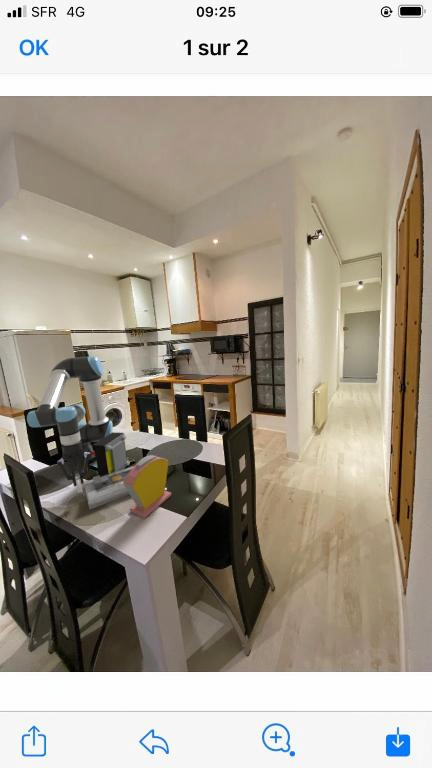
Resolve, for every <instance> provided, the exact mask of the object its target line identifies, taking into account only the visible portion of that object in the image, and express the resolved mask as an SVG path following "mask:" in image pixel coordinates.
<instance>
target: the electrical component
mask: <svg viewBox="0 0 432 768" xmlns="http://www.w3.org/2000/svg"><path fill="white" fill-rule="evenodd" d="M126 439H127V435H125V433H124V432H113V431H112V433H111V434H109V435H107V436H106V437H104V438H103V439H101V440H100V441H95V442H94V443H93V444H92V445H91V448H92V450H93V452H92V454H93V455H94V457H95V462H96V467H97V474H98V475H97V476H99V475H100V477H101V476H105V475H108V474H111V473H114V472H117V471H120V470H124V469H126V468H127V466H130V461H129V459H128V457H127V456H128V455H127V449H126V443H125V440H126Z"/></svg>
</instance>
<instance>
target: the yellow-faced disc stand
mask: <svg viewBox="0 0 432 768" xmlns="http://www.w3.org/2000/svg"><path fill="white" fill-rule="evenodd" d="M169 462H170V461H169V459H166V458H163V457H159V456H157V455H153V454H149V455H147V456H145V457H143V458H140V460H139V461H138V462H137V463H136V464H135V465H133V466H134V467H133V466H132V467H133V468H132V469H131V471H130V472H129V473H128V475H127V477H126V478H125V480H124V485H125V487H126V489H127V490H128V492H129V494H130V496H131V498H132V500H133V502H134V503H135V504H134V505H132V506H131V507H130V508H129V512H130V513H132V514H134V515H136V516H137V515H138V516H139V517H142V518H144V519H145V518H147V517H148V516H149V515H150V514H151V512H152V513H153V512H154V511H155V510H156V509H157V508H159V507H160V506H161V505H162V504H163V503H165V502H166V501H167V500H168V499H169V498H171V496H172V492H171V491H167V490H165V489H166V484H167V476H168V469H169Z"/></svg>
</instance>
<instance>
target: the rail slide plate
mask: <svg viewBox="0 0 432 768" xmlns="http://www.w3.org/2000/svg"><path fill="white" fill-rule="evenodd" d="M134 466H135V465H133V466H130V467H126V468H124V469H123V470H120V471H117V472H114V473H111V474H108V475H105V476H107V477H108V479H109V480H112V477H114V476H118V475H120V476H121V477H122V476H125V475H128V473H129V472H130V471H131V469H132V468H133V467H134ZM105 476H101V478H102V477H105ZM84 484H85V486H84V489H85V495H86V499H87V503H88V508H89V510H92V509H95V508H97V507H100V506H103V505H106V504H109V503H111V502H114V501H116V500H119V499H122V498H124V497H128V496H129V495H130V494H129V492H128V490H127V489H126V487H125V485H124V481H121V482H118V483H115V484H112V485H109V486H106V487H103V488H100V489H97V490H95V487H94V481H93V478H92V479H90V480H87V481H84ZM130 496H131V495H130Z"/></svg>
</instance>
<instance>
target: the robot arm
mask: <svg viewBox="0 0 432 768" xmlns="http://www.w3.org/2000/svg"><path fill="white" fill-rule="evenodd" d="M103 375H104V367H103V364H102V361H101V360H100V359H99V357H98V356H89V355H88V356H80V357H68V358H65V359H63V360H61V361H59V362H58V363H57V364H56V365H55V366H54V367H53V368H52V370H51V372H50V374H49V377H50V380H49V382H48V384H47V386H46V388H45V391H44V393H43V394H42V395H43V396H42V398H41V401H40V402H39V405H38V406H37V409H36V410H31V411H29V412H28V414H27V415H26V421H27V424H28V426H29V427H31V428H43V427H49V426H57V430H58V434H59V440H60V444H61V450H62V456H61V458H60V459H58V460H57V466H59V467H60V468H61V470H62V472H63V474H64V476H65V478H66V480H67V481H72V483H73V486H74V487H76V490H77V493H78V494H80V493H83V487H82V485H83V484H85V481H84V476H87V475H88V468H89V467H88V466H89V461H90V460H92V459H94V457H95V456H94V455H93V454H92V452H94V451H93V448H92V446H91V444H90V443H93V442H94V443H96V442H98V441H100V440H101V439H103V438H104V437H106V436H107V435H109V434H111V433H112V432H113V430H114V429H113V427H114V426H113V425H114V424H113V421H112V420H110V419H109V417H108V416H106V412H105V406H104V400H103V395H102V390H101V385H100V381H101V379H102V376H103ZM77 378H78V379H79V382H80V383H82V384H83V385H82V386H83V389H84V393H85V398H86V403H87V408H88V414H89V418H90V419H89V421H88V423H87V422H86V421H82V420H83V419H84V417H85V415H86V409H85V407H84V406H83V405H81V404H78V403H77V404H72V405H70V406H62V407H59V405H60V401H61V399H62V396H63V394H64V391H65V388H66V386H67V385H66V384H67V383H68V382H70V380H71V379H77ZM65 462H66V463H67V464H69V463H70V464H69V466H70V472H69V471H68V468H67V467H66V465H65ZM80 463H81V464H83V468H82V465H81V464H80ZM73 464H74V465H77V469H78V475H79V476H76V473H75V467H74V465H73ZM82 469H83V470H82ZM70 473H71V475H70Z"/></svg>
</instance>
